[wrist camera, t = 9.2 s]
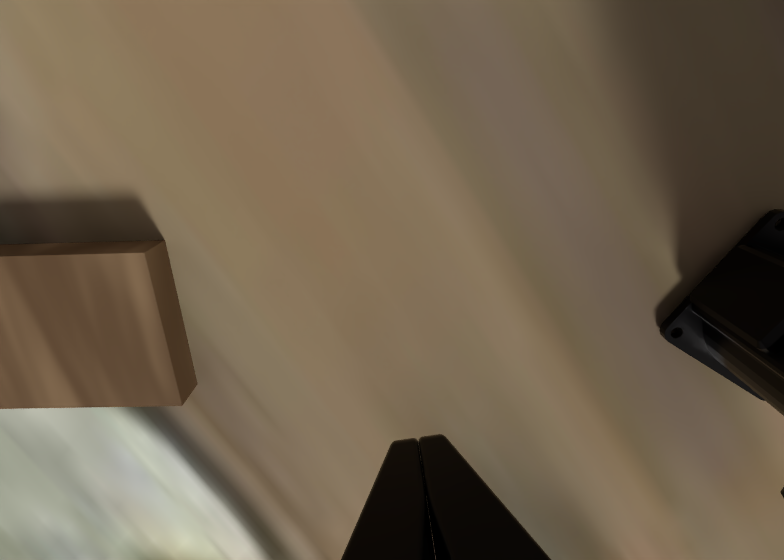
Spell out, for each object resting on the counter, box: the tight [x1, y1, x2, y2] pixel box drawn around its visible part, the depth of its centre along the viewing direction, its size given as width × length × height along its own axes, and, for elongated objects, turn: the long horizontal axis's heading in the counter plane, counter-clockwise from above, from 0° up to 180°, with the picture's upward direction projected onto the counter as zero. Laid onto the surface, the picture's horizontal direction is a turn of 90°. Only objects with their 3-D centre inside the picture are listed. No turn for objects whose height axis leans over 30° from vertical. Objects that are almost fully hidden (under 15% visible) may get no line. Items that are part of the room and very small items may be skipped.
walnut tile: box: [0, 240, 197, 409], centre depth 20 cm, size 2×7×10 cm
